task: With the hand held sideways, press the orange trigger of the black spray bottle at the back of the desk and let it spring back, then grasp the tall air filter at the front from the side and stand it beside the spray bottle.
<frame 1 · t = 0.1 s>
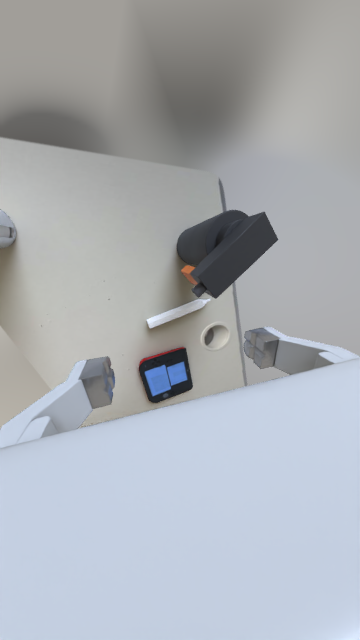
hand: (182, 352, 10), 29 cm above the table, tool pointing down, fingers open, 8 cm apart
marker: (179, 309, 40), on the table
spray bottle: (193, 246, 35), on the table
game console: (166, 372, 46), on the table
trigger: (194, 276, 22), point 15 cm above the table, slide at -0.1 cm
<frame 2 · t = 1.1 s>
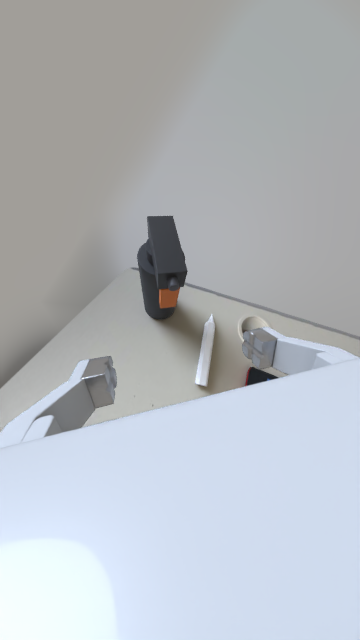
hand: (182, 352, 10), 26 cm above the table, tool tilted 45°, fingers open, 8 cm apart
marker: (205, 347, 37), on the table
spray bottle: (159, 305, 39), on the table
game console: (274, 409, 34), on the table
trigger: (168, 295, 23), point 15 cm above the table, slide at -0.1 cm
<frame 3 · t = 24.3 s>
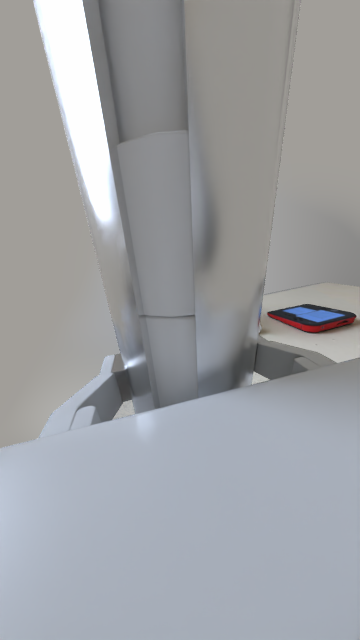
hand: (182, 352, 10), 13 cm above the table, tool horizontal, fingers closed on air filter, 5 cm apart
air filter: (195, 488, 14), on the table, touching gripper
game console: (307, 319, 42), on the table
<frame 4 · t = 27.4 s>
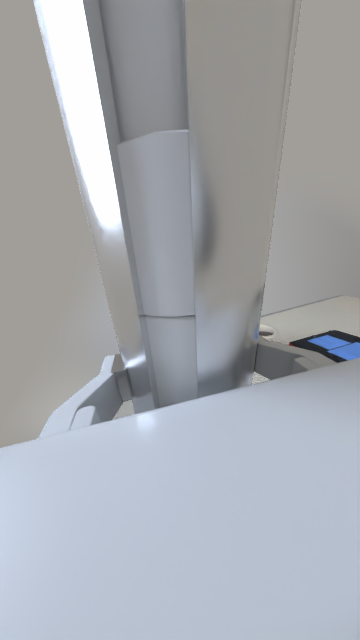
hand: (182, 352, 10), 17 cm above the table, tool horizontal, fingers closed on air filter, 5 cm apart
air filter: (195, 488, 14), point 4 cm above the table, touching gripper
game console: (340, 354, 35), on the table
when the fingers open (13 cm above the table, at t = 30.8 s): air filter stays where it is, on the table.
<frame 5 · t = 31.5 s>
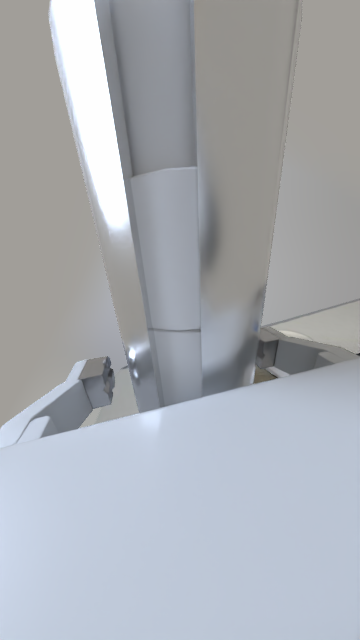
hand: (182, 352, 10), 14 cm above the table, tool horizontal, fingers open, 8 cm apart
air filter: (197, 489, 15), on the table
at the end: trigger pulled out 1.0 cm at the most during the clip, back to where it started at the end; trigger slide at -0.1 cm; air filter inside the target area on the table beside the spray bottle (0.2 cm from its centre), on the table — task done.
